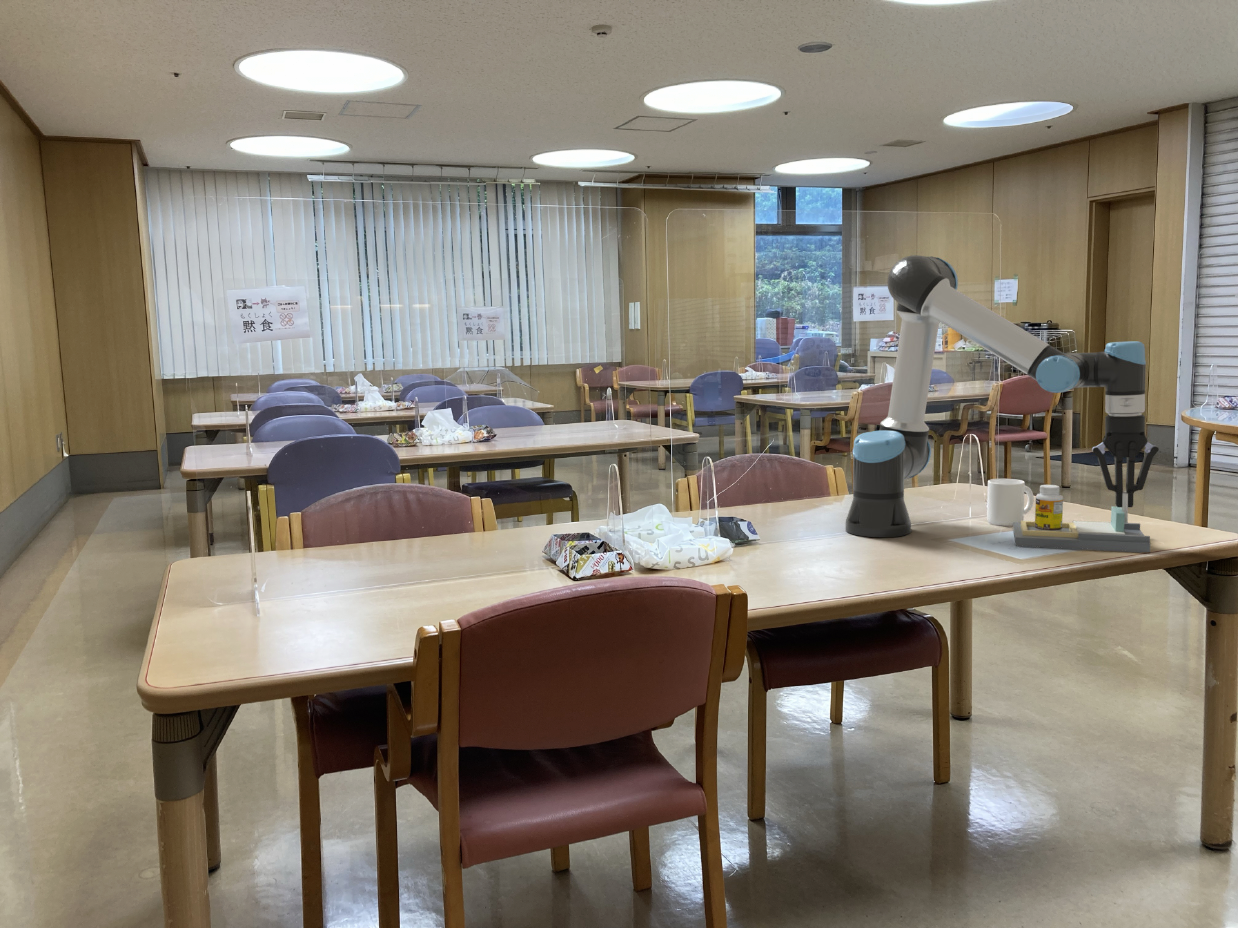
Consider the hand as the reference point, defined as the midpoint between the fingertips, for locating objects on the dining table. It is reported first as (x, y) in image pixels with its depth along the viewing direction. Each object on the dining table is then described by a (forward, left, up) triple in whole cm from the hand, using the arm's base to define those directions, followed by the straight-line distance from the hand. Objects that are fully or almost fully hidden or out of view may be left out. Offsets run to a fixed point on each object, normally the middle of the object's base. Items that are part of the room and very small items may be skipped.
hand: (1124, 521), depth 206 cm
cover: (-5, 0, -3) cm, 6 cm away
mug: (-22, +18, -5) cm, 29 cm away
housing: (-10, 0, -5) cm, 11 cm away
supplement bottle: (-15, 0, -3) cm, 15 cm away
